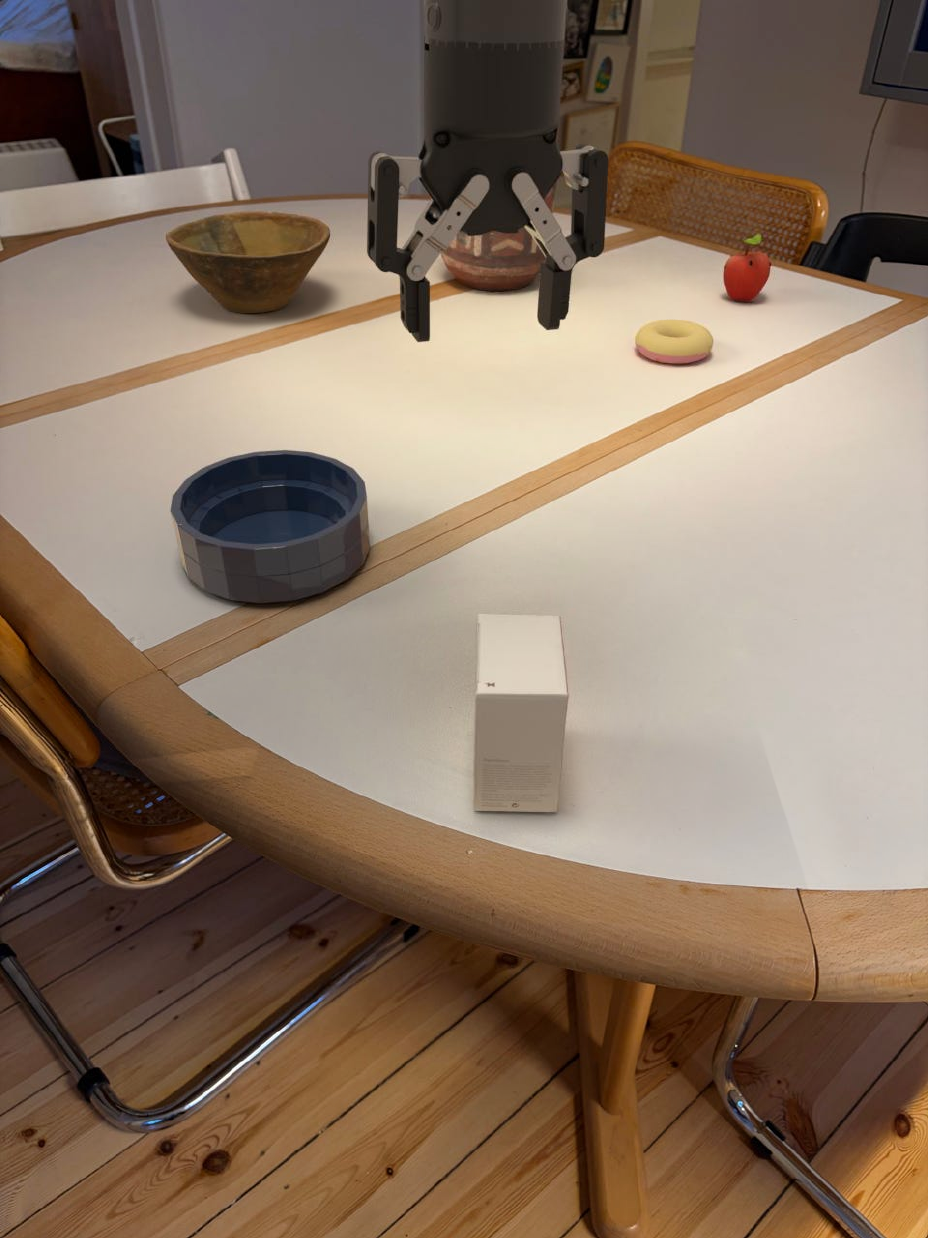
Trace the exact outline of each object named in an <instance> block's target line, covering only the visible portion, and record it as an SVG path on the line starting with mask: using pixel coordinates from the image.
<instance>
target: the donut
mask: <svg viewBox="0 0 928 1238" xmlns="http://www.w3.org/2000/svg"><path fill="white" fill-rule="evenodd" d="M634 340H635V341H634V342H635V347H636V349H637V351H638V352H639V353H640V354H641V355H643V356H644V357H645V358H647V359H649V360H651V361H655V362H659V363H663V364H673V365H674V364H675V365H676V364H677V365H678V364H690V363H695V362H698V361H700V360H702V359H704V358H706V357H707V356H708V355H709V354H710V352H711V351H712V349H713V346H714V337H713V335H712V333H711V331H710V330H709V329H708V328H707V327H705V326H704V325H701V324H699V323H697V322H693V321H689V320H685V319H684V320H683V319H660V320H659V319H658V320H654V321H650V322H648V323H646V324H645V325H643V326H642V327H640V328H639V330H638V331H637V333H636V335H635V338H634Z"/></svg>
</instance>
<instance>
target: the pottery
mask: <svg viewBox="0 0 928 1238" xmlns="http://www.w3.org/2000/svg"><path fill="white" fill-rule="evenodd" d="M557 183H558V180H557V181H556V183H555V184H554V186H553V187H552V189H551V190H550V192H549V193H548V195H547V196H546V198H545V199H544V201H545V203H546V205H547V206H548V208H549V209H550V211H551V213H552V214H553V215H554V205H555V197H556V190H557V189H556V188H557ZM448 227H449V226H448ZM448 227H447V228H448ZM439 255H440V257H441V259H442V261H443V263H444V265H445V267H446V270H448V271H449V272H450V273H451V275H452V276H453V277H454V278H455V280H457V281H458V282H459V283H460V284H461V285H464V286H466V287H467V288H472V289H476V290H481V291H488V292H489V291H490V292H504V291H505V292H506V291H514V290H519V289H523V288H525V287H527V286H529V285H530V284H531V283H533V281H534V280H536V278H537V277H538V276H540V266H541V263H544V262H546V257H545V256H544V254H543V253H542V251H541V249H540V248H539V246H538V245H537V243H536V242H535V240H534V239H533V237H532V236H531V234H530V233H529V232H528V231H527V230H526V228H525V227H523V228H521V229H519V230H518V233H512V234H505V233H501V232H496V231H492V232H489V233H486V234H483V235H478V236H468V235H466V234H465V233H462V232H460V231H459V232H458V234H457V235H456V237H455V238H454V239H453V241H452V242H451V244H450V245H449V247H448V248H447V249H446V250H445V251H442V252H441V253H440V254H439Z"/></svg>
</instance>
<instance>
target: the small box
mask: <svg viewBox="0 0 928 1238" xmlns="http://www.w3.org/2000/svg"><path fill="white" fill-rule="evenodd" d="M475 631H476V633H475V635H476V636H475V639H476V640H475V680H474V681H475V687H474V689H475V691H474V693H475V694H474V719H473V721H474V724H473V726H474V728H473V729H474V731H473V732H474V733H473V790H472V791H473V793H472V794H473V798H472V799H473V801H472V802H473V811H475V812H519V813H520V812H521V813H525V812H526V813H527V812H528V813H531V812H532V813H535V812H536V813H556V812H557V811H558V804H559V794H560V785H561V775H562V764H563V755H564V745H565V735H566V725H567V714H568V707H569V706H568V705H569V696H570V694H569V685H568V677H567V667H566V658H565V657H566V656H565V647H564V637H563V628H562V617H561V616H558V615H538V614H537V615H535V614H534V615H532V614H503V613H502V614H501V613H500V614H496V613H479V614H477V615H476V630H475Z"/></svg>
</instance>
